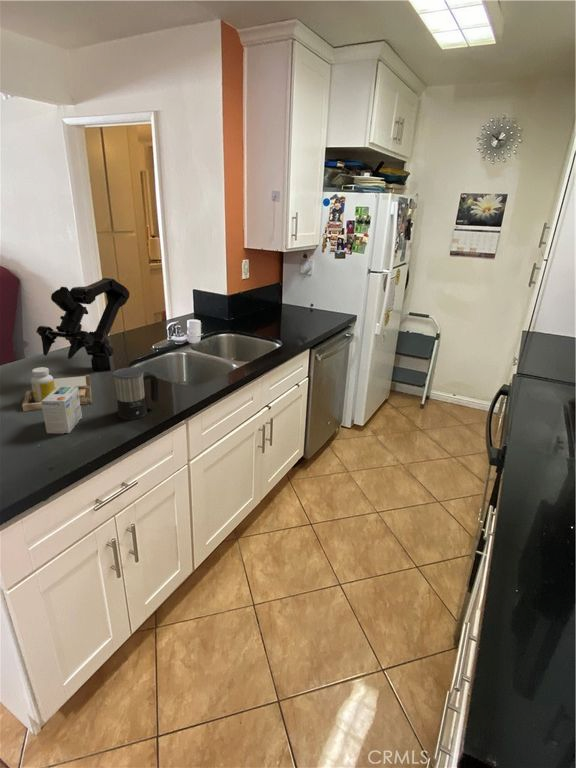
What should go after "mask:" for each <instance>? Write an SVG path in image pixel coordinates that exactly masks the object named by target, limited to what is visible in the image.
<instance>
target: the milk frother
mask: <svg viewBox="0 0 576 768" xmlns="http://www.w3.org/2000/svg"><path fill="white" fill-rule="evenodd" d="M113 377H114V383H115V391H116V399H117V409H118V412H117V416H118V417H119V418H120V419H122V420H129V421H131V420H137V419H141V418H143V417H145V416H147V414H148V409H147V407H148V402H147V392H146V382H145V381H146V380H149V381H150V399H151V400H152V402H153V403H158V402H159V389H160V388H159V378H158V376H157V375H155V373H153V372H150V371H144V370H143V369H142V368H140V367H124V368H119V369H117V370H115V371H114V372H113Z"/></svg>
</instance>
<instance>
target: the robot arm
mask: <svg viewBox="0 0 576 768" xmlns="http://www.w3.org/2000/svg"><path fill="white" fill-rule="evenodd" d="M102 294H106V295H105V297H106V301H107V304H106V305H105V308H104V310H103V313H102V315H101V317H100V320H99V321H98V325H97V327H96V329H95V331H85V330H82V328H83V327H82V324H81V322H82V320H83V317H84V315H89V311H88V310H87V306H84V305H92V303H94V302H95V301H96V297H98V296H100V295H102ZM130 295H131V294H130V291H129V289H128V288H127V287H126V286H125V285H124V284H121V283H119V282H118V281H117V280H116V279H114V278H111V277H110V278H108V277H103V278H101V279H99V280H98V281H95V282H93V283H92V284H89V285H87V286H75V287H72V288H71V289H70V290H69V288H68V287H67V286H60V288H59V289H56V290H55V291H53V293H51V295H50V300H51V301H52V302H53V303H54V304H55V305H56V306H57V307H59V309H60V310H61V311H63V312H65V313H64V314H63V315H60V320H61V322H60V325H56V327H55V329H56V330H54V329H53V328H52V327H50V326H46V325H39V326H38V327H37V329H36V330H35V331H36V333H37V334H38V335H39V336H40V340H41V344H42V353H43V356H47V355H48V354H49V352H50V349H51V347H52V345H53V344H54V343H56V339H57V338H64V339H65V340H66V341H68V342H69V344H70V346H69V350H68V354H67V358H68V359H69V360H71V359H72V358H73V357H74V356H75V355H76V354H77V353H78V351H80V350H81V349H82V348H84V349H85V351H86V354H87V356H92V357H91V358H90V362H91V369H92V370H93V372H107V371H108V372H109V371H111V370H112V368H111V367H112V366H111V362H110V361H111V360H110V357H112V356H113V355H114V348H113V347H112V346H111V345H110V343H111V342H110V339H109V335H110V332H111V330H112V327H113V325H114V322H115V320H116V317H117V314H118V313H119V311H120V308H121V307H123V306H124V305H126V303H127V301H128V300H129V298H130Z"/></svg>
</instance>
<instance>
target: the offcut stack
mask: <svg viewBox="0 0 576 768" xmlns="http://www.w3.org/2000/svg"><path fill="white" fill-rule="evenodd" d="M78 391H79V398H84V397H87V395H86V389H81V390H78Z"/></svg>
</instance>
